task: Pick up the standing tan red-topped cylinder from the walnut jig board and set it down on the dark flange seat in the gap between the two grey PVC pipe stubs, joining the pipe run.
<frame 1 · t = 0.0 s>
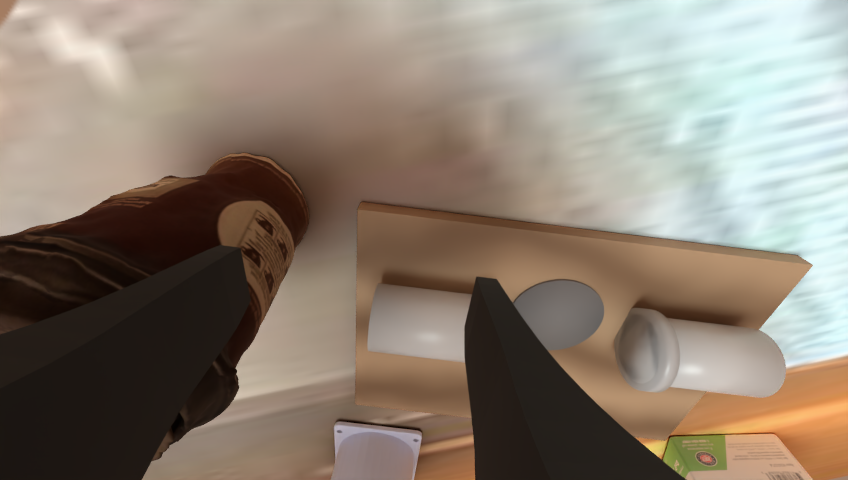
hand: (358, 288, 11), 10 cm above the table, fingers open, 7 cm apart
jig board: (538, 336, 25), on the table
ink box: (713, 446, 31), on the table
pipe stubs: (550, 305, 23), resting on jig board
coffee cup: (262, 203, 21), on the table, touching gripper
flange seat: (554, 315, 23), resting on jig board
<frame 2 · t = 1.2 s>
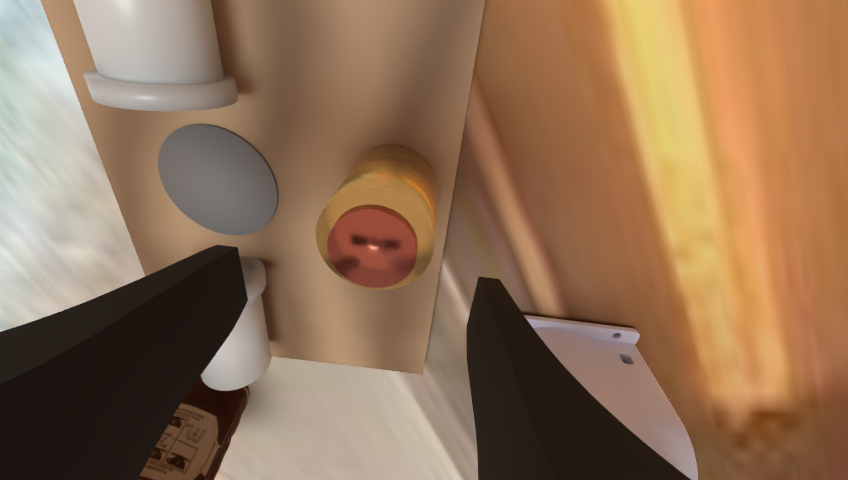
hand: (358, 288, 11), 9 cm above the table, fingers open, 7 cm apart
tan red-topped cylinder: (394, 187, 18), point 1 cm above the table, touching jig board
jig board: (285, 183, 19), on the table
pipe stubs: (230, 176, 19), resting on jig board
coffee cup: (212, 384, 29), on the table
flange seat: (220, 183, 18), resting on jig board
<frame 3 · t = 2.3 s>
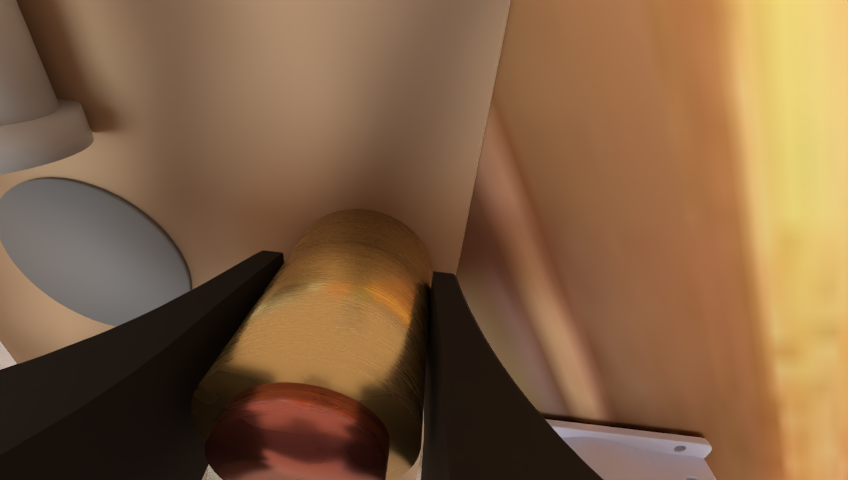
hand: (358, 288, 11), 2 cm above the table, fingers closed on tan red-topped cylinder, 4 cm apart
tan red-topped cylinder: (364, 269, 11), point 1 cm above the table, touching gripper, jig board
jig board: (207, 255, 13), on the table
pipe stubs: (125, 245, 13), resting on jig board
flange seat: (101, 260, 12), resting on jig board
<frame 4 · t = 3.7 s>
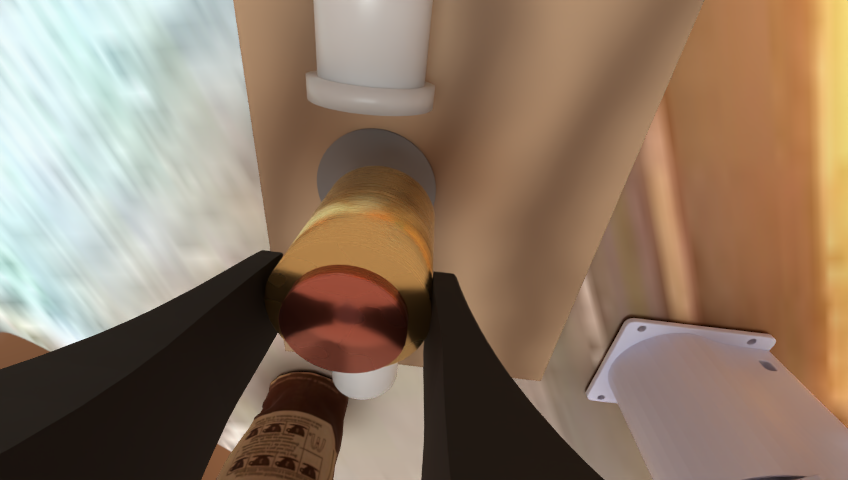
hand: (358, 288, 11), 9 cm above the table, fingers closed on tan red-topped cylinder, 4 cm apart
tan red-topped cylinder: (379, 218, 14), point 5 cm above the table, touching gripper
jig board: (436, 188, 18), on the table
pipe stubs: (380, 181, 18), resting on jig board
coffee cup: (310, 390, 28), on the table
flange seat: (376, 188, 18), resting on jig board
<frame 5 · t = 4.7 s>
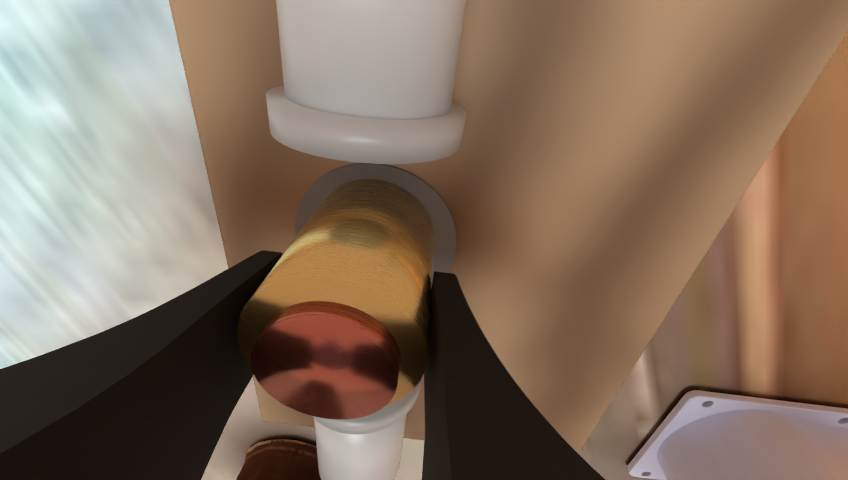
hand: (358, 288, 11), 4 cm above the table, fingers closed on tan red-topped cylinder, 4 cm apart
tan red-topped cylinder: (374, 235, 13), point 1 cm above the table, touching flange seat, gripper
jig board: (454, 236, 14), on the table
pipe stubs: (380, 226, 14), resting on jig board
coffee cup: (296, 456, 24), on the table
flange seat: (376, 239, 13), resting on jig board
when the fingers open (3 cm above the table, at t = 5.3 s): tan red-topped cylinder stays where it is, resting on flange seat.
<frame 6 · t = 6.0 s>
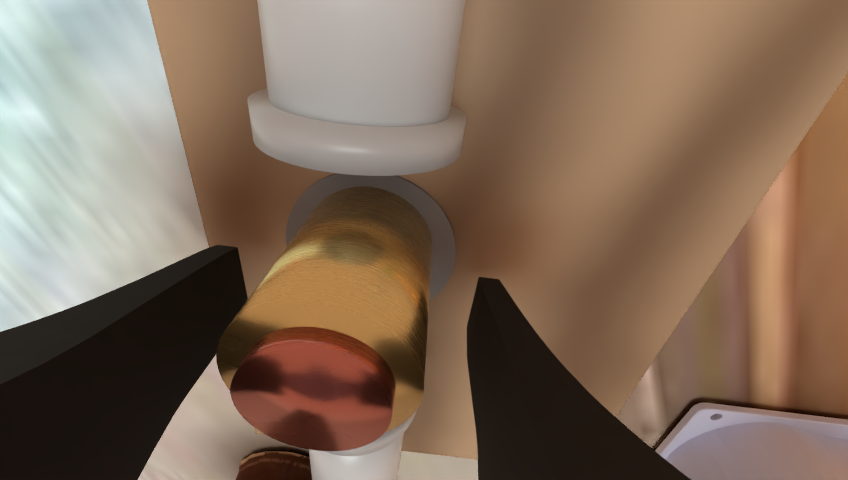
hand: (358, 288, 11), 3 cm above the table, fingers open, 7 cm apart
tan red-topped cylinder: (369, 245, 12), point 1 cm above the table, touching flange seat
jig board: (454, 245, 13), on the table
pipe stubs: (376, 235, 13), resting on jig board
coffee cup: (291, 467, 23), on the table
flange seat: (371, 249, 12), resting on jig board
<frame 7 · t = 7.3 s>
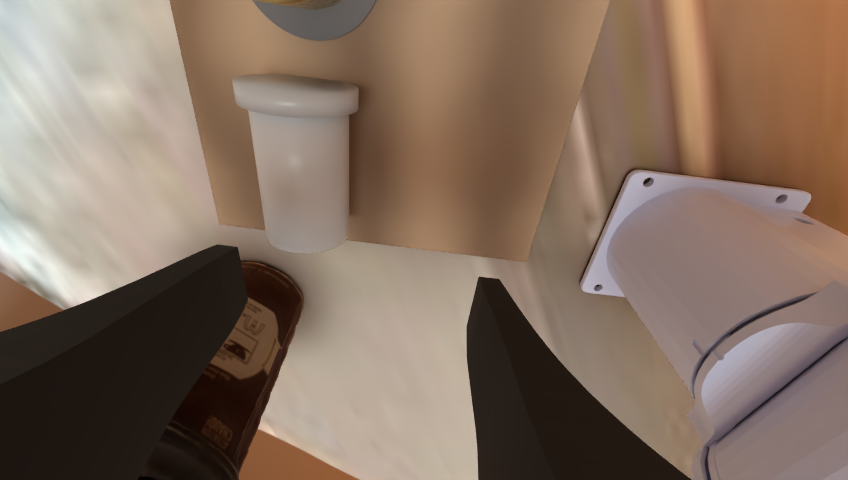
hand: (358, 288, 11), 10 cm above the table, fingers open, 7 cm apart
coffee cup: (260, 292, 24), on the table
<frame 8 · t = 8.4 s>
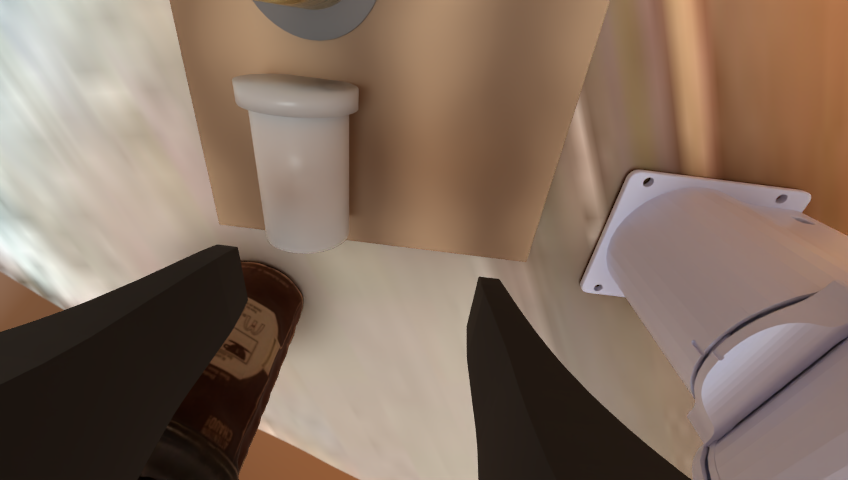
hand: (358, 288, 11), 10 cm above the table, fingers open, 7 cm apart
coffee cup: (260, 292, 24), on the table
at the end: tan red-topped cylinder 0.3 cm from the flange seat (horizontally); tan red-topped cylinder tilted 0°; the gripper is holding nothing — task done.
